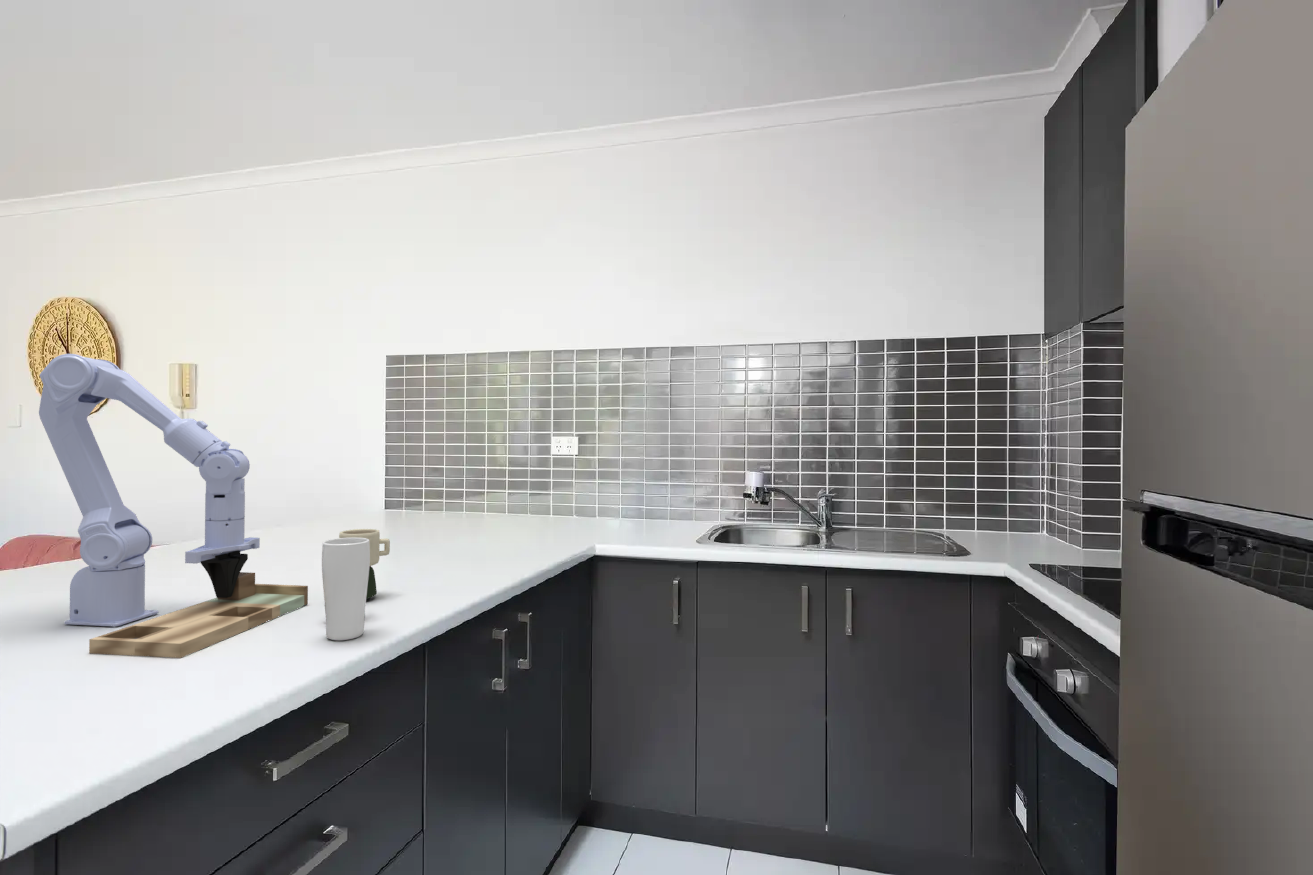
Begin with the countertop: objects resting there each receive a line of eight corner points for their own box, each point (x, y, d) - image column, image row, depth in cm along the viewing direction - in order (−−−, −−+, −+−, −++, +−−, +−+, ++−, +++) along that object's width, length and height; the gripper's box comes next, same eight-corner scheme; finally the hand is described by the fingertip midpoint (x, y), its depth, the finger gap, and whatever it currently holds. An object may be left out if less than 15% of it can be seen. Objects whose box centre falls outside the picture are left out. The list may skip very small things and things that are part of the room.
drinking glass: (378, 632, 101) (379, 538, 101) (345, 645, 95) (346, 545, 95) (345, 627, 104) (346, 536, 104) (310, 640, 97) (311, 542, 97)
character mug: (384, 591, 127) (385, 526, 127) (393, 599, 121) (394, 531, 121) (324, 599, 121) (325, 531, 121) (330, 607, 115) (331, 536, 115)
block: (217, 599, 112) (217, 576, 112) (234, 593, 116) (234, 571, 116) (238, 600, 112) (238, 577, 112) (254, 594, 116) (255, 572, 116)
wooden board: (89, 653, 90) (89, 628, 90) (236, 601, 118) (236, 583, 118) (180, 657, 89) (180, 633, 89) (307, 604, 117) (307, 585, 117)
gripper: (213, 525, 103) (212, 609, 103) (275, 514, 117) (274, 587, 117) (173, 524, 103) (172, 607, 104) (239, 513, 118) (238, 586, 118)
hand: (224, 596), depth 110 cm, fingers closed
